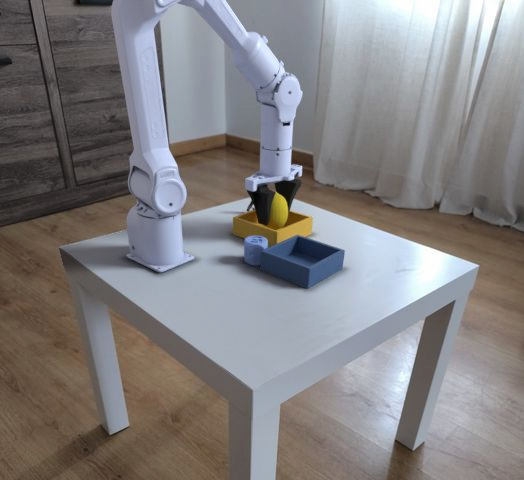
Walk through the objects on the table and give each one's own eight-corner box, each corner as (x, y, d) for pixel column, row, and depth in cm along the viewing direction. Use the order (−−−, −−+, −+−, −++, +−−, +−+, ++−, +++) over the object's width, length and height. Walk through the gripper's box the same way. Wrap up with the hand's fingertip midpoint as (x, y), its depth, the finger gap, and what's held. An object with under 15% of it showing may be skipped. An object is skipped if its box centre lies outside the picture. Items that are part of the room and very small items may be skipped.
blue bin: (260, 269, 84) (260, 250, 82) (296, 252, 91) (297, 234, 89) (308, 288, 79) (309, 268, 77) (342, 268, 85) (345, 250, 83)
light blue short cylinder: (244, 265, 85) (244, 243, 83) (244, 256, 89) (244, 235, 86) (267, 266, 85) (267, 244, 83) (266, 256, 89) (267, 235, 86)
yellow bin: (232, 234, 97) (232, 217, 95) (268, 220, 104) (269, 204, 102) (276, 250, 91) (277, 232, 89) (311, 234, 98) (313, 217, 96)
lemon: (284, 238, 95) (286, 197, 90) (256, 235, 96) (257, 194, 91) (289, 228, 99) (291, 188, 95) (262, 225, 100) (263, 186, 96)
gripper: (267, 157, 82) (264, 235, 89) (317, 144, 91) (311, 215, 99) (236, 150, 85) (236, 225, 93) (287, 138, 95) (283, 207, 102)
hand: (273, 220), depth 96 cm, fingers closed on lemon, 5 cm apart
